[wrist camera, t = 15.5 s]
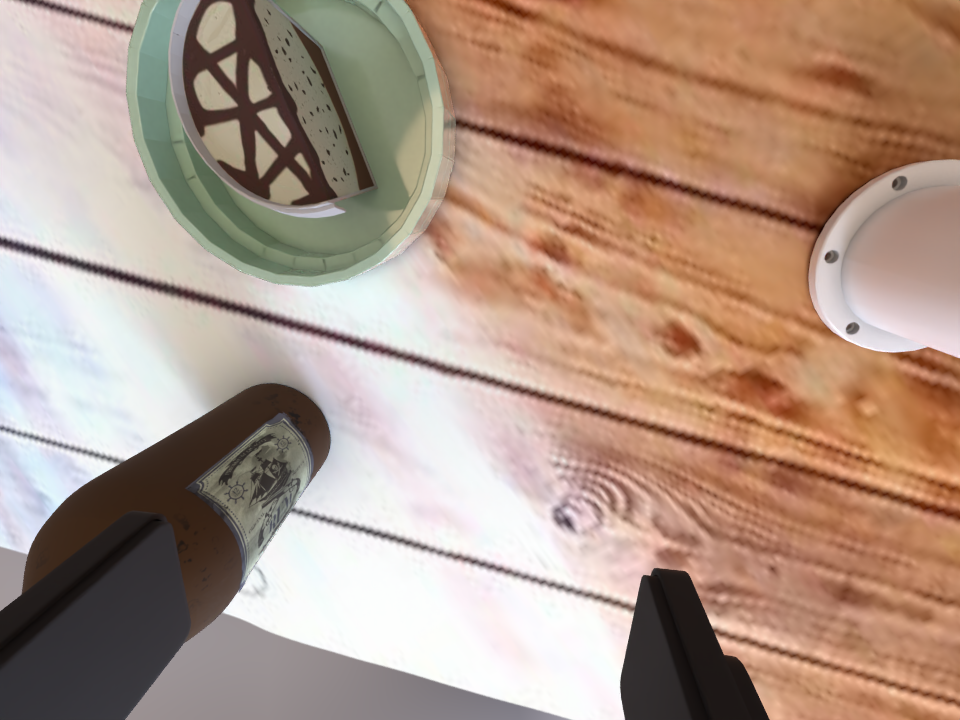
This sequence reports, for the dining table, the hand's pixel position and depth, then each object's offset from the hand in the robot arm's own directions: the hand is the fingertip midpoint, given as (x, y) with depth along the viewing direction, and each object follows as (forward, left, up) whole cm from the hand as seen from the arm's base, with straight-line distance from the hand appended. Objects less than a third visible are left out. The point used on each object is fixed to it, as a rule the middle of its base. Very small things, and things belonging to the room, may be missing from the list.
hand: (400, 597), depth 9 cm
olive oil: (+18, +13, -28) cm, 36 cm away
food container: (+13, -11, -28) cm, 33 cm away
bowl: (+13, -11, -28) cm, 33 cm away
